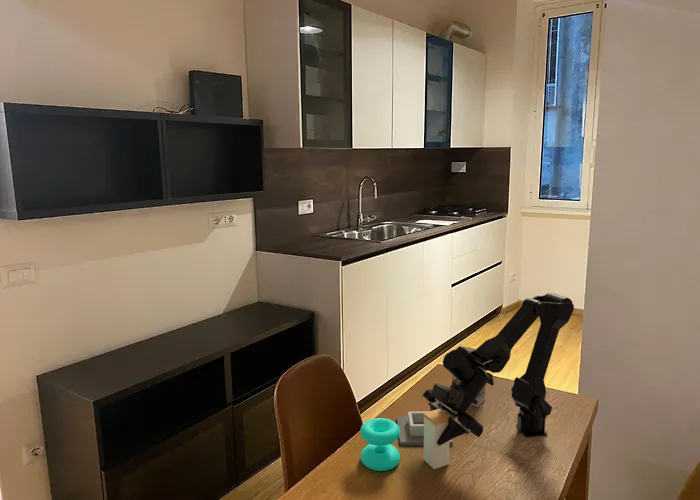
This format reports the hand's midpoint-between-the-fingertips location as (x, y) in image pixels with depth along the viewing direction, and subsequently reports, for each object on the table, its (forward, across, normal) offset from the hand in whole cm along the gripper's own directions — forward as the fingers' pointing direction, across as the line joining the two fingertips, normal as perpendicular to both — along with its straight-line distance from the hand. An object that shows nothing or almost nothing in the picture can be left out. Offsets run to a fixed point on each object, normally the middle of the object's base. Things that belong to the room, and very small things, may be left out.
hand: (432, 439), depth 136 cm
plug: (+4, 0, +6) cm, 7 cm away
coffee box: (-16, -23, +26) cm, 38 cm away
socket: (0, -14, +10) cm, 17 cm away
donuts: (+13, -7, -3) cm, 15 cm away
